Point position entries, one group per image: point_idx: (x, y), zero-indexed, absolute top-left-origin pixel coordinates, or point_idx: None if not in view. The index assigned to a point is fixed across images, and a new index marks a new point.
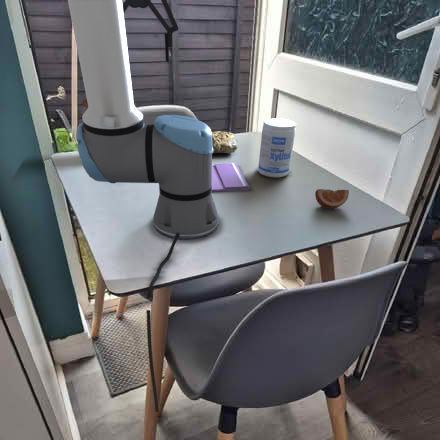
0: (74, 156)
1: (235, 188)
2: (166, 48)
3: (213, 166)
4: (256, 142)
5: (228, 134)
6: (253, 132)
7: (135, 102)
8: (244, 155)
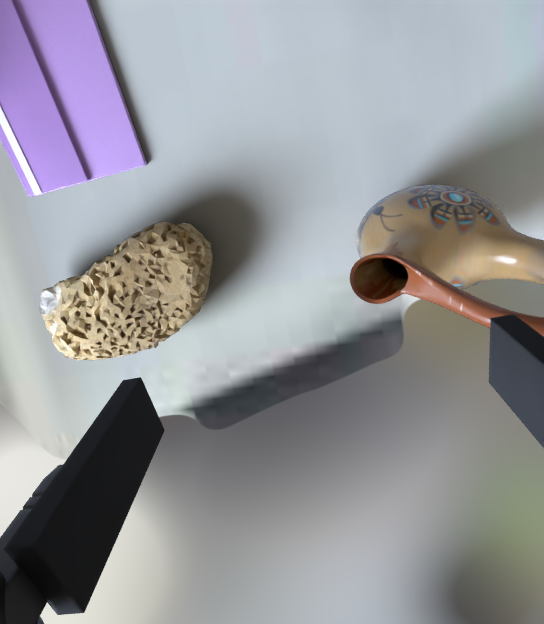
0: (538, 208)
1: None
2: (96, 438)
3: (91, 170)
4: (39, 392)
5: (62, 330)
6: None
7: (353, 289)
8: (40, 291)
